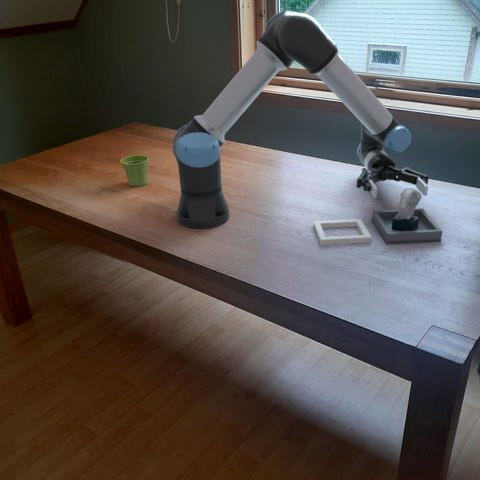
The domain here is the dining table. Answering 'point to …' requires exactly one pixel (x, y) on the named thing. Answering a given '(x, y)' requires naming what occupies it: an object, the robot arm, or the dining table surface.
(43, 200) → the dining table surface
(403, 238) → the tray
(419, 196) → the watch
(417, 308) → the dining table surface
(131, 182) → the plant pot
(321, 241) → the white open frame
